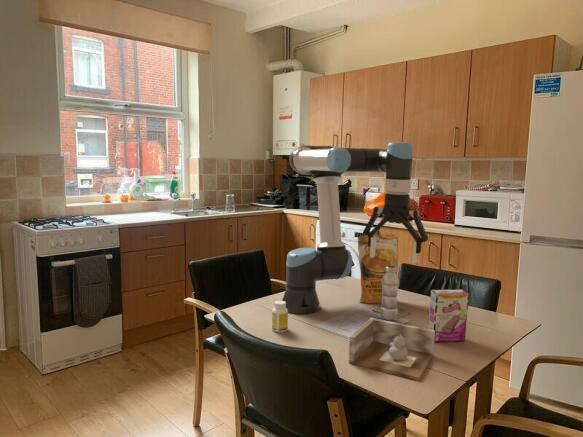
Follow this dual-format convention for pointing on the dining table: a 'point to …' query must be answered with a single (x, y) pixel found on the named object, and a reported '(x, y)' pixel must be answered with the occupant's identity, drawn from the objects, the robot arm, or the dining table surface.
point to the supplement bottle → (279, 317)
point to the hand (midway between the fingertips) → (393, 260)
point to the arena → (376, 343)
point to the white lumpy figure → (398, 348)
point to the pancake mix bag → (376, 265)
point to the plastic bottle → (389, 294)
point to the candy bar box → (448, 315)
